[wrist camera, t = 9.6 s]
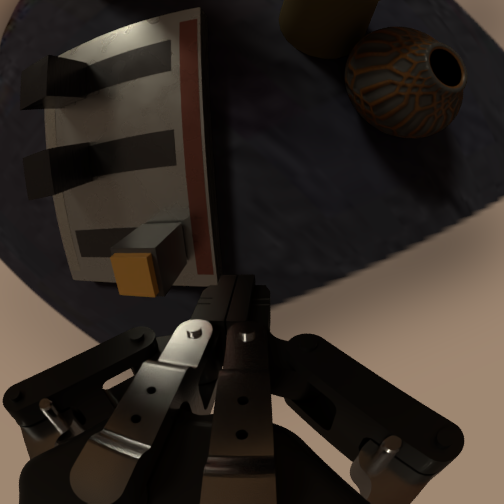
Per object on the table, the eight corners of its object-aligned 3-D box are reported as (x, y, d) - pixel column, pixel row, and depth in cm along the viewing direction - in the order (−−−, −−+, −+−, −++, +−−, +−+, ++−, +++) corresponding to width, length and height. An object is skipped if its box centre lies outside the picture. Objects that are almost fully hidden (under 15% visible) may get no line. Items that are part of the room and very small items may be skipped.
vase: (379, 155, 17) (444, 174, 9) (314, 79, 16) (340, 37, 8) (439, 105, 15) (516, 101, 7) (380, 32, 13) (434, -16, 5)
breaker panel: (207, 17, 14) (178, -23, 8) (223, 274, 22) (203, 323, 16) (60, 65, 16) (9, 59, 10) (84, 270, 24) (44, 304, 18)
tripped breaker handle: (181, 222, 18) (150, 252, 14) (187, 263, 19) (161, 302, 15) (142, 224, 19) (104, 252, 14) (149, 263, 20) (117, 298, 15)
